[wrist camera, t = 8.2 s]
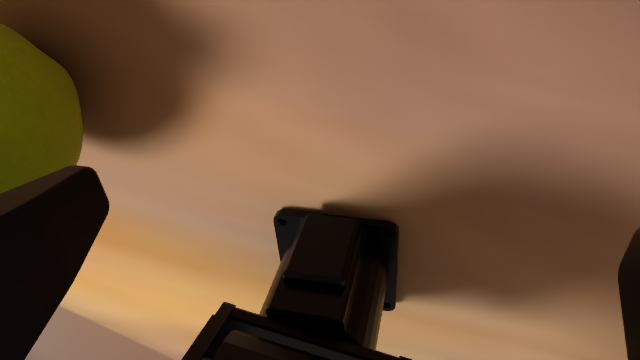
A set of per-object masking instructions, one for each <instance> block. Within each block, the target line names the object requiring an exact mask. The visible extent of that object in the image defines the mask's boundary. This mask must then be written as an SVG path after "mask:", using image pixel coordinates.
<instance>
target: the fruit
mask: <svg viewBox="0 0 640 360" xmlns="http://www.w3.org/2000/svg"><path fill="white" fill-rule="evenodd" d="M82 140H83V125H82V116H81V108H80V103H79V98H78V94H77V90H76V87H75V85H74V82H73V80H72V78H71V77H70V75H69V74H68V72H67V71H66V70H65V69H64V68H63V67H62V66H61V65H60V64H59V63H58V62H56V61H55V60H53V59H52V58H50V57H49V56H48V55H46V54H45V53H43V52H42V51H40V50H39V49H38V48H36V47H35V46H34V45H33V44H32V43H31V42H30V41H28V40H27V39H26V38H24V37H23V36H22V35H20V34H19V33H17V32H16V31H14V30H13V29H11V28H9V27H7V26H5V25H3V24H1V23H0V193H3V192H5V191H8V190H10V189H13V188H15V187H18V186H20V185H23V184H25V183H28V182H30V181H32V180H35V179H37V178H40V177H42V176H45V175H47V174H50V173H52V172H55V171H57V170H60V169H62V168H64V167H67V166H71V165H76V164H77V162H78V159H79V156H80V152H81V148H82Z"/></svg>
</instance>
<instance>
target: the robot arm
mask: <svg viewBox="0 0 640 360" xmlns="http://www.w3.org/2000/svg"><path fill="white" fill-rule="evenodd" d="M108 211H109V201H108V198H107V196H106V193H105V191H104V189H103V186H102V184H101V182H100V179H99V177H98V175H97V173H96V171H95V170H94V169H93V168H90V167H85V166H76V165H71V166H67V167H64V168H62V169H60V170H57V171H55V172H52V173H50V174H47V175H45V176H42V177H40V178H37V179H35V180H32V181H30V182H28V183H25V184H23V185H20V186H18V187H15V188H13V189H10V190H8V191H5V192H3V193H0V360H25V358H26V356H27V355H28V353H29V352H30V350H31V349H32V347H33V345H34V344H35V342H36V341H37V339H38V338H39V336H40V334H41V333H42V331H43V330H44V328H45V326H46V325H47V323H48V322H49V320H50V318H51V317H52V315H53V314H54V312H55V311H56V309H57V307H58V306H59V304H60V303H61V301H62V300H63V298H64V296H65V295H66V293H67V292H68V290H69V288H70V287H71V285H72V283H73V281H74V280H75V278H76V276H77V274H78V272H79V270H80V268H81V266H82V264H83V262H84V260H85V258H86V256H87V254H88V252H89V250H90V248H91V246H92V244H93V242H94V240H95V238H96V236H97V235H98V233H99V231H100V229H101V227H102V225H103V223H104V221H105V219H106V217H107V214H108ZM281 218H283V219H285V220H286V221H285V220H283V219H281ZM274 226H275V232H276V238H277V244H278V249H279V255H280V261H281V264H280V266H279V268H278V271H277V273H276V275H275V278H274V280H273V283H272V285H271V287H270V290H269V292H268V295H267V297H266V299H265V302H264V304H263V307H262V309H261V311H260V314H256V313H252V312H249V311H246V310H243V309H239V308H236V305H233V304H230V303H227V302H223V304H222V305H221V307H220V308H219V310H218V311H217V312H216V314H215V315H212V316H211V318H210V319H209V320H208V322H207V323H206V325H205V326H204V328H203V329H202V331H201V332H200V334H199V335H198V336H197V338H196V339H195V341H194V342H193V344H192V345H191V347H190V348H189V350H188V351H187V352H186V354H185V355H184V357H183V358H182V360H412V359H409V358H406V357H402V356H400V357H395V356H392V355H389V354H386V353H382V352H379V351H376V345H377V339H378V333H379V327H380V322H381V316H382V310H384V311H391V310H393V309H395V305H396V292H397V267H398V243H399V228H398V226H397V225H396V224H395V223H393V222H389V221H380V220H371V219H362V218H353V217H344V216H335V215H326V214H317V213H308V212H299V211H290V210H279V211H277V213H276V215H275V217H274ZM386 231H391V232H392V233H388V232H386ZM618 285H619V293H620V301H621V309H622V317H623V325H624V333H625V340H626V348H627V356H628V360H640V227H639V228H638V229H637V230H636V231H635V233H634V235H633V237H632V239H631V241H630V244H629V246H628V248H627V250H626V252H625V254H624V257H623V259H622V261H621V263H620V266H619V270H618Z"/></svg>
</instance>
